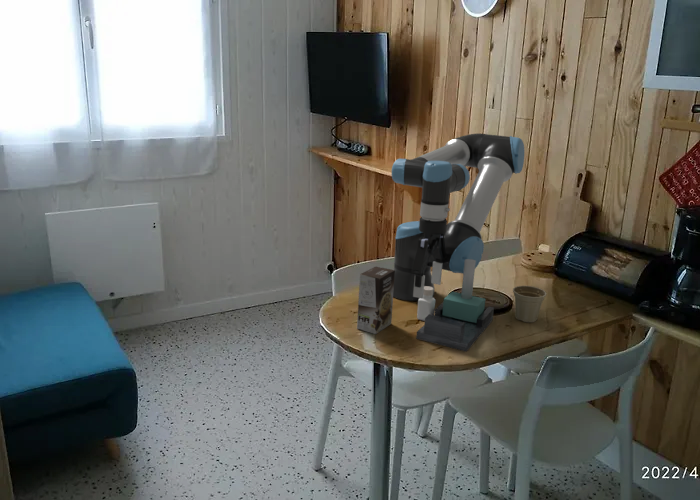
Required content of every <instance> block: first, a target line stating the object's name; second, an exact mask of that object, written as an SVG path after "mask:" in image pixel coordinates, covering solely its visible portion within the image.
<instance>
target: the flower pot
mask: <svg viewBox="0 0 700 500" xmlns="http://www.w3.org/2000/svg"><path fill="white" fill-rule="evenodd" d="M512 293H513V295H514V306H515V307H514V309H515V310H514V312H515V314H514V316H515V318H516V320H518V321H522V322H524V323H535V322H536V321H537V320H538V318H539V314H540V311H541V307H542V303H543V301H544V300H545V298H546V296H547V292H546V291H545V290H544V289H542V288H539V287H537V286H532V285H518V286H514V287H513V288H512Z"/></svg>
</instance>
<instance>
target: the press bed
mask: <svg viewBox="0 0 700 500" xmlns="http://www.w3.org/2000/svg"><path fill="white" fill-rule="evenodd" d="M494 310H495V307H493V306H488V307H487V308H486V309H484V312H483V313H482V314H481V316H480V317H479V318H478V319H477V323H473V322H469V321H465V320H460V319H456V318H452V317H448V316H444V315H442V313H443V302H441V303H440V304H439V305H438V306H437V307H435V311H434V315H430V314H429V315H428V316H427V317H426V318H425V321H424V325H422V327H420V328H419V329H418V330H417V331H416V336H415V339H417V340H419V341H423V342H424V341H425V342H428V343H432V344H435V345H439V346H443V347H446V348H451V349H455V350H458V351H462V352H466V353H467V351H469V349H470V348H471V347H472V346H473V345H474V343H475V342H476V341H477V340H478V339H479V337H480V336H481V335H482V334H483V333H484V331H485V330H486V329H487V328H488V326H490V325H491V323H492V322H493V319H494Z"/></svg>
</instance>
